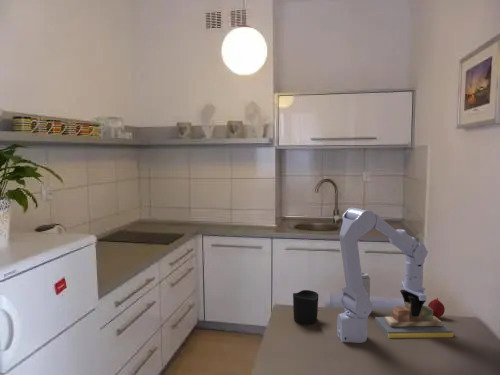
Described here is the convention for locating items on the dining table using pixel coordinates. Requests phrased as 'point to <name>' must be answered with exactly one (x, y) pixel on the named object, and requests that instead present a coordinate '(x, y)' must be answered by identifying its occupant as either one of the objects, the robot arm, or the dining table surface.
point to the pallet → (424, 323)
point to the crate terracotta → (401, 314)
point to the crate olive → (426, 314)
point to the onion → (437, 308)
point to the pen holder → (305, 307)
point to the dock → (413, 330)
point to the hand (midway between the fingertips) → (412, 313)
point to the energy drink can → (366, 282)
